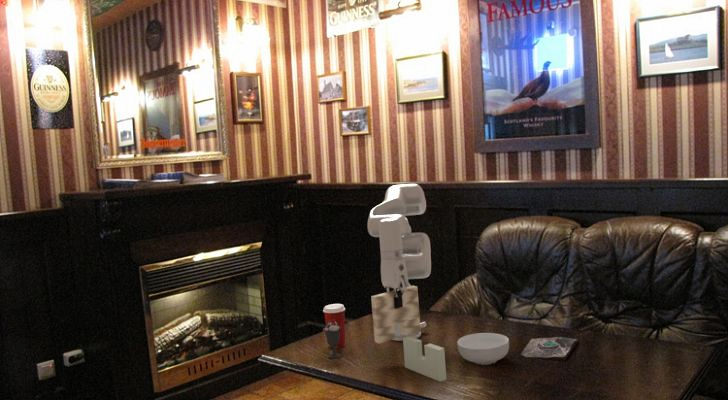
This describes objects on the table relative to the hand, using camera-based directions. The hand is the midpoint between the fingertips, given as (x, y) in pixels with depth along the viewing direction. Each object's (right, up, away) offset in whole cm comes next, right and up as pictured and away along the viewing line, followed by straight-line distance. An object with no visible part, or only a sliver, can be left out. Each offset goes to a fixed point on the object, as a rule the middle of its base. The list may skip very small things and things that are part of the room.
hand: (395, 306), depth 226 cm
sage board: (+8, -19, -17) cm, 27 cm away
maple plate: (+1, -11, +1) cm, 11 cm away
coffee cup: (-21, -18, +19) cm, 33 cm away
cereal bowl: (+29, -17, -10) cm, 35 cm away
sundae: (-21, -19, +7) cm, 29 cm away
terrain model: (+52, -15, -3) cm, 54 cm away
